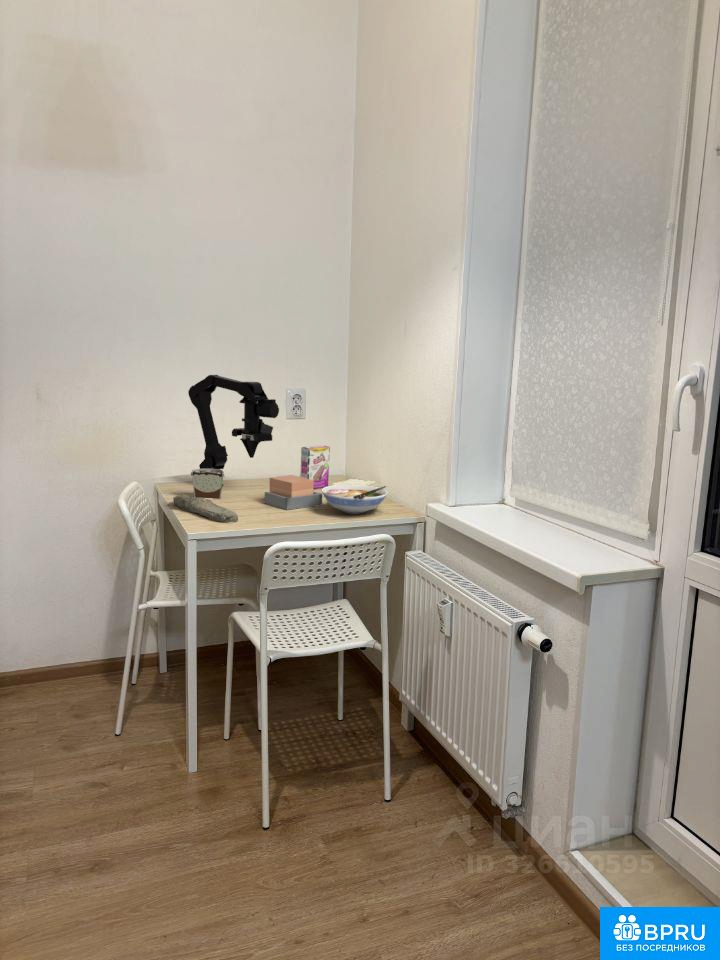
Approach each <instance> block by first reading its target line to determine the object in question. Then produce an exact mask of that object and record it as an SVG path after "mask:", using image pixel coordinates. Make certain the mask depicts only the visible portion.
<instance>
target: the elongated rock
mask: <svg viewBox="0 0 720 960" xmlns="http://www.w3.org/2000/svg"><path fill="white" fill-rule="evenodd" d="M172 498H173V501H172V503H173V505H176V506H177V507H178V508H180V509H182V511H186V512H190V513H193V514H195V513H196V514H198V515H199V516H201V515H202V516H201V517H206V518H208V519H209V518H211V519H210V520H212V519H213V520H212V521H214V520H216V521H215V522H219V521H221V523H224V522H226V524H228V523H227V522H234V523H237V522H239V516H238V514H237V513H236V512H235V511H234V510H230V509H228V508H226V507H223V506H220V505H218V504H216V503H214V502H213V501H212V499H205V498H201V497H199V498H198V497H194V496H190V495H187V494H185V493H183V494H181V495H175V496H173V497H172Z"/></svg>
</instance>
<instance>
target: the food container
mask: <svg viewBox="0 0 720 960" xmlns="http://www.w3.org/2000/svg"><path fill="white" fill-rule="evenodd" d="M190 477H192V486H193V497H198V498H199V497H201V498H213V499H212V500H221V499H222V492H223V491H222V487H223V486H222V484H223V479H224V478H225V477H226V476H225V473H224V470H223V469H200V468H197V469H196V468H195V469H192V470H191V472H190ZM220 498H221V499H220Z"/></svg>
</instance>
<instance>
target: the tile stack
mask: <svg viewBox="0 0 720 960" xmlns="http://www.w3.org/2000/svg"><path fill="white" fill-rule="evenodd" d="M313 482H314V480H312V479H307V478H303V477H300V476H298V475H294V474H289V475H288V474H287V475H281V476H273V477H269V492H270V493H273V494H277V495H280V496H284V497H287V498H289V497H297V496H304V495H311V494H313V491H314V489H313Z"/></svg>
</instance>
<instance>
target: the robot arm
mask: <svg viewBox="0 0 720 960" xmlns="http://www.w3.org/2000/svg"><path fill="white" fill-rule="evenodd" d="M217 388H221V389H225V390H229V391H232V392H233V391H234V392H236V393H237V394H238V395H240V396H242V398H241V399H240V400H239V404H243V406H244V408H243V409H244V411H243V416H244V417H243V418H241V422H243V427H238V428H233V429H232V431H231V436H232V437H238V436H241V437H240V441H241V442H242V444H243V446H244V447H245V450H246V452H247V454H248V456H249V458H251V459H253V458H254V456H255V453H256V451H257V448H258V445H259V444H260V443H262V442H272V441H273V435H272V433H273V429H274V426H272V425H269V424H266V423H265V422H264V421H263V418H269V419H276V418H277V417H278V415H279V412H280V407H279V405H278V404H277V403H276V402H277V401H276V399H275V398H273V399H272V398H271V399H269V398H268V395H267V394H266V393H265V390H264V389H263V388H264V387H263V385H262V383H261V382H259V381H242V380H237V379H233V378H228V377H225V376H220V375H219V374H208V375H207V376H206V377H205V378H203V379H201V380H200V381H198V382H197V383H195V384H194V385H192V386H190V387H189V390H187V391H188V392H187V393H188V397H189V399H190V402H191V404H192V405H193V406H194V408H195V409H196V411H197V414H198V418H199V422H200V426H201V430H202V434H203V438H204V443H205V449H204V452H203V455H204V459H203V460H202V461H201V462H200V463H199V465H198V466H199V469H219V470H223V469H225V465H226V463H227V462H228V456H229V454H228V453H227V447H226V446H225V445H221V443H220V442H219V439H218V438H219V437H218V435H217V431H216V427H215V422H214V418H213V414H212V410H211V404H212V399H213V397H212V394H213V393H214V392H215V391H216V389H217ZM223 486H224V484H223V483H222V487H223Z"/></svg>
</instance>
